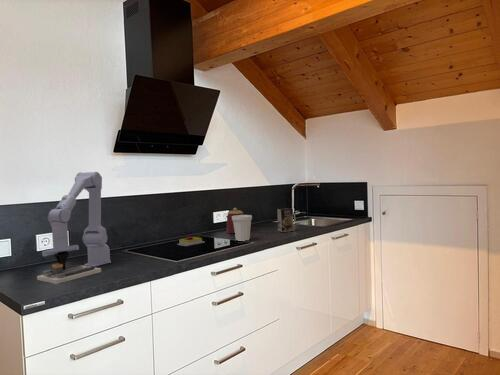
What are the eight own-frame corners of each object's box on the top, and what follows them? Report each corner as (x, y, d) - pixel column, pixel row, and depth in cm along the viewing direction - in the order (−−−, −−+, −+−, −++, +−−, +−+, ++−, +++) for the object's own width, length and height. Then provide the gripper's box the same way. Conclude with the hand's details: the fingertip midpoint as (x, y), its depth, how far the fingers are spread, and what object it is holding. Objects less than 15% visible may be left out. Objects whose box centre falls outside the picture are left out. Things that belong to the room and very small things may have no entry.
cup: (255, 241, 218) (254, 216, 218) (234, 243, 215) (233, 217, 215) (250, 238, 230) (249, 214, 230) (230, 240, 227) (229, 215, 227)
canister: (248, 231, 260) (247, 206, 260) (240, 234, 248) (239, 208, 248) (231, 231, 265) (231, 206, 265) (223, 233, 254) (222, 208, 253)
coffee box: (282, 233, 247) (281, 209, 246) (277, 232, 252) (276, 208, 252) (293, 231, 250) (293, 208, 250) (289, 230, 256) (288, 207, 256)
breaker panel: (82, 268, 167) (81, 261, 167) (101, 271, 159) (100, 264, 159) (37, 279, 150) (36, 272, 150) (56, 284, 142) (55, 276, 142)
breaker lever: (58, 273, 152) (58, 263, 152) (63, 274, 150) (62, 264, 150) (52, 274, 150) (52, 264, 150) (57, 275, 148) (56, 265, 148)
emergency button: (176, 238, 219) (196, 234, 230) (176, 245, 219) (196, 241, 230) (185, 239, 213) (205, 235, 223) (185, 247, 213) (205, 242, 223)
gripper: (48, 241, 143) (50, 275, 143) (82, 235, 155) (84, 266, 156) (38, 240, 147) (40, 273, 147) (72, 234, 159) (74, 265, 159)
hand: (62, 270), depth 152 cm, fingers closed, pressing on breaker lever
